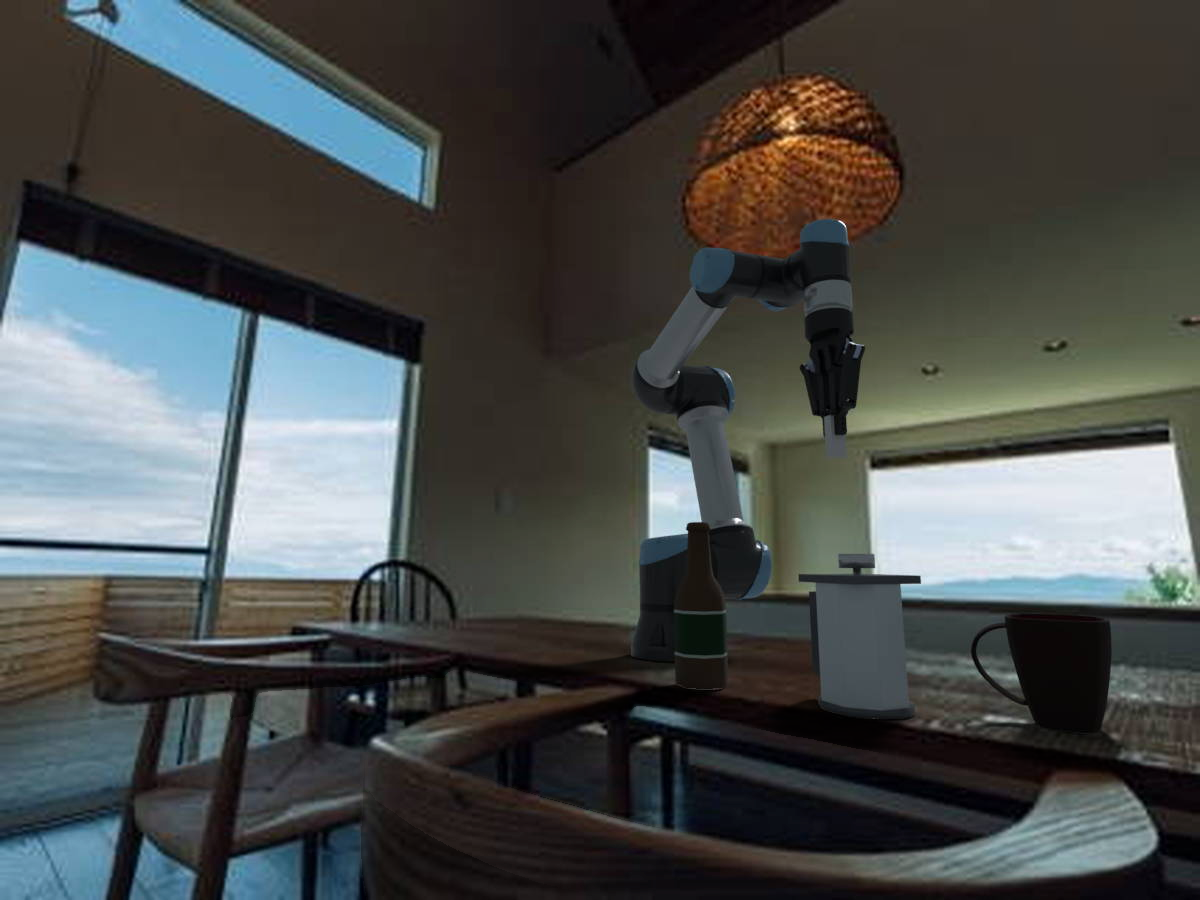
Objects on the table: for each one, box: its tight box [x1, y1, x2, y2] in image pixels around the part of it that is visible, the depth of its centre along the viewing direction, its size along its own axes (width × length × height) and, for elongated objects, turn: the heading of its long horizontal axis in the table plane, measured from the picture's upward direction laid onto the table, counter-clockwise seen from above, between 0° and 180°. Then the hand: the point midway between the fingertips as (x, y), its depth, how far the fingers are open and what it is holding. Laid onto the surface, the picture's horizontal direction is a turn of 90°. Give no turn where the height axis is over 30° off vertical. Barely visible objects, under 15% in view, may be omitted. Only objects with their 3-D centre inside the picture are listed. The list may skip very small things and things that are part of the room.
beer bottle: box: [674, 521, 729, 689], centre depth 97 cm, size 8×8×24 cm
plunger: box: [837, 553, 876, 575], centre depth 84 cm, size 4×4×9 cm
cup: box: [970, 612, 1113, 735], centre depth 75 cm, size 10×14×12 cm
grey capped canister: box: [798, 573, 922, 720], centre depth 84 cm, size 14×11×16 cm
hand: (836, 456), depth 102 cm, fingers closed
